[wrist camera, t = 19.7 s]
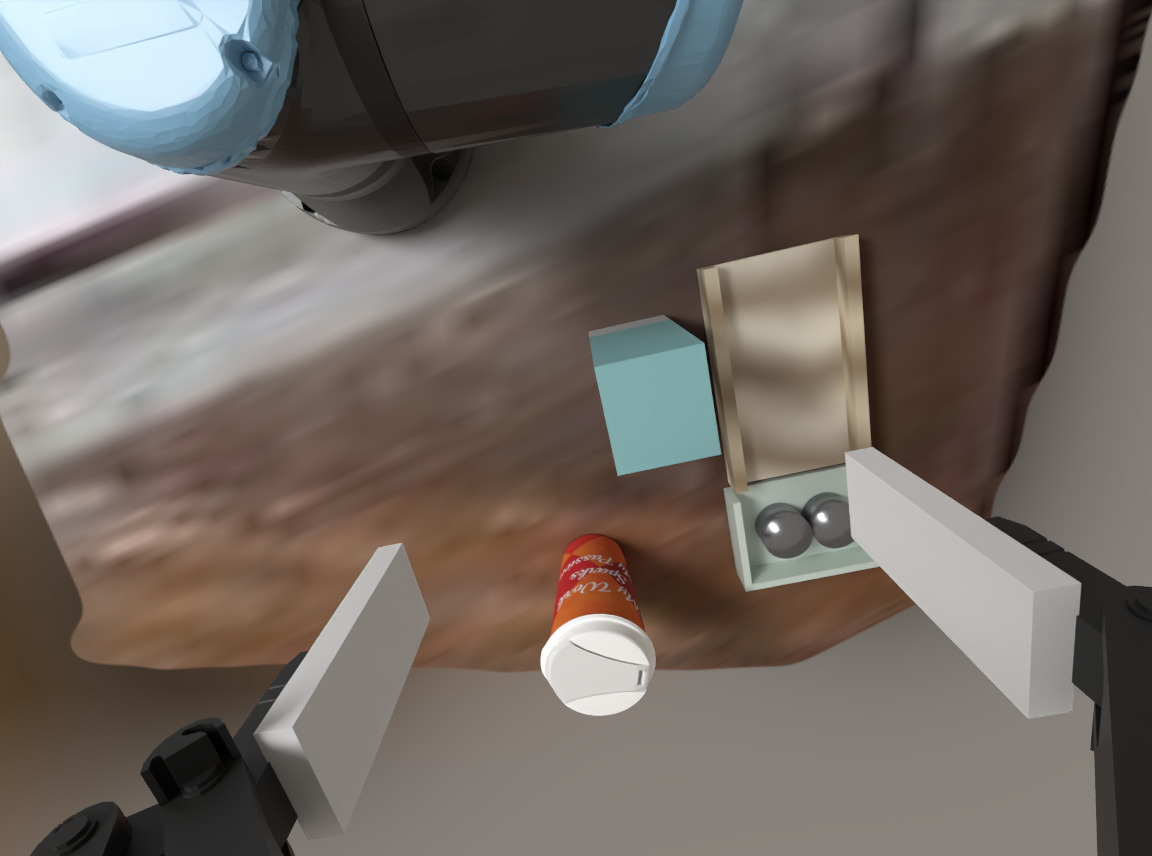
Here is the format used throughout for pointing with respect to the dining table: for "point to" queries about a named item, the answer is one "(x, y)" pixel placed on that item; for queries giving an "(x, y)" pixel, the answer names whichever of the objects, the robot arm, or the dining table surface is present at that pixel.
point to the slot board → (788, 358)
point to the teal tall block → (654, 394)
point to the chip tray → (796, 490)
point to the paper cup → (597, 632)
